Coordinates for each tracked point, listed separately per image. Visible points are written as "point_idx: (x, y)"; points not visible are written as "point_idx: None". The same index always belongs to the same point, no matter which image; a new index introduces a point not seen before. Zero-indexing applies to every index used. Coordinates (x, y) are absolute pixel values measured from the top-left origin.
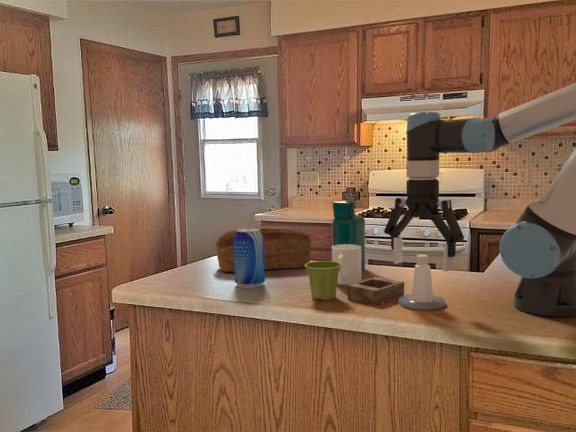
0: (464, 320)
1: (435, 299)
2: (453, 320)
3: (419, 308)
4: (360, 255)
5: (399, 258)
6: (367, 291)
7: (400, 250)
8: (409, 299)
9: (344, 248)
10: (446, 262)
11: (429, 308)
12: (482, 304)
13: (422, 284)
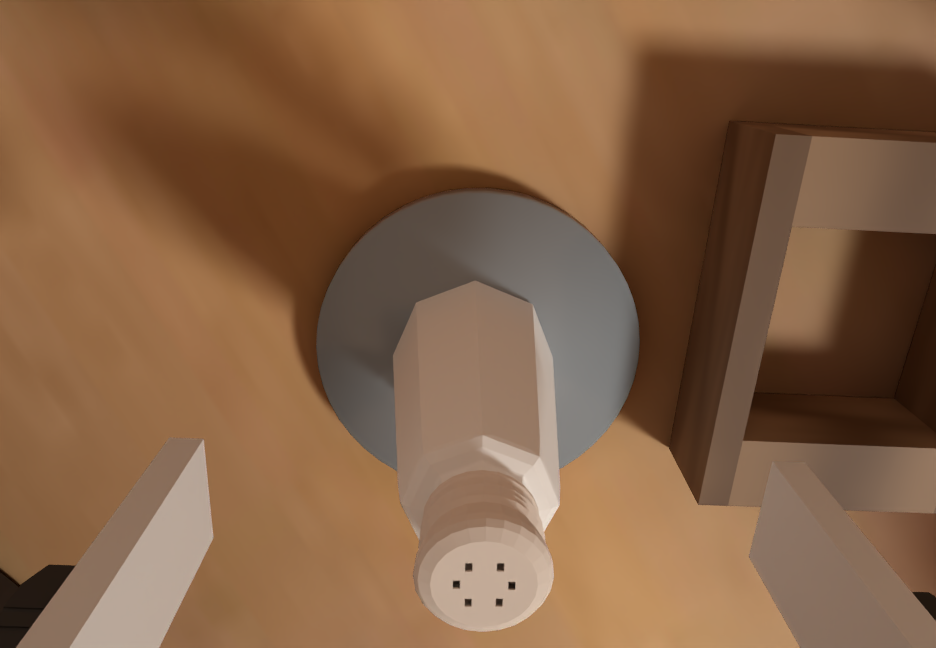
0: (58, 174)
1: None
2: (108, 127)
3: (412, 205)
4: None
5: (779, 546)
6: (865, 137)
7: (817, 631)
8: (552, 313)
9: None
10: (128, 497)
11: (356, 244)
12: None
13: (440, 358)
